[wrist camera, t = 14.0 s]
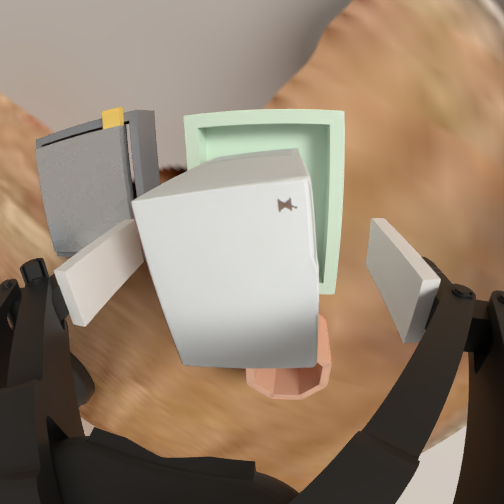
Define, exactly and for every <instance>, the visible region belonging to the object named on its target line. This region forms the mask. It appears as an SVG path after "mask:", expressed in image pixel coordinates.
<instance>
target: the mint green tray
mask: <svg viewBox="0 0 504 504" xmlns="http://www.w3.org/2000/svg"><path fill="white" fill-rule="evenodd" d="M184 131H185V146H186V159H187V171H188V170H190V169H192V168H194V167H196V166H198V165H200V164H202V163H205V162H207V161H209V160H212V159H214V158H216V157H220V156H227V155H235V154H243V153H252V152H260V151H270V150H280V149H291V148H298V149H299V151H300V155H301V157H302V159H303V161H304V163H305V166H306V168H307V170H308V173H309V175H310V178H311V183H312V193H313V203H314V216H315V230H316V246H317V259H318V266H319V294H335V286H336V277H337V268H338V258H339V248H340V236H341V223H342V207H343V187H344V147H345V127H344V111H336V110H314V109H262V110H240V111H226V112H214V113H204V114H196V115H186V116H184Z"/></svg>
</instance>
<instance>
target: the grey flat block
mask: <svg viewBox="0 0 504 504" xmlns="http://www.w3.org/2000/svg"><path fill="white" fill-rule="evenodd" d="M125 124H129V125H130V137H131V149H132V159H133V169H134V177H135V185H136V193H137V198H138V197H139V196H141V195H143V194H145V193H146V192H148V191H150V190H152V189H154V188H155V187H157V186H159V185H160V176H159V166H158V156H157V144H156V133H155V132H156V131H155V116H154V111H147V110H134V111H130V112H126V113H123V107H118V108H114V109H110V110H106V111H103V112H102V118H101V119H98V120H94V121H91V122H87V123H84V124H81V125H77V126H74V127H71V128H68V129H65V130H62V131H59V132H56V133H53V134H50V135H48V136H45V137H42V138H40V139H37V140H36V148H37V149H39V148H41V147H44V146H47V145H50V144H53V143H56V142H59V141H63V140H66V139H69V138H73V137H76V136H80V135H83V134H87V133H90V132H94V131H98V130H102V129H106V128H111V127H115V126H120V125H125ZM141 250H142V255H143V259H145V256H144V252H143V249H141ZM76 253H78V252H57V256H63V257H72V256H74V255H75V254H76ZM145 260H146V259H145Z"/></svg>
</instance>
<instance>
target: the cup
mask: <svg viewBox="0 0 504 504" xmlns="http://www.w3.org/2000/svg"><path fill="white" fill-rule="evenodd" d="M331 366H332V363H331V354H330V346H329V338H328V331H327V323H326V319H325V318H324V317H323V316H322V315H320V314H319V319H318V352H317V363H316V365H315V367H311V368H246V378H247V384H248V385H249V386H251V387H253V388H254V389H256V390H257V391H259V392H260V393H262V394H264V395H265V396H267V397H269V398H271V399H304V398H306V397H308V396H310V395H311V394H313V393H315V392H317V391H319V390H321V389H323V388H325V387H326V386H327V384H328V379H329V375H330V370H331Z"/></svg>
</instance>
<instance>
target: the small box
mask: <svg viewBox="0 0 504 504" xmlns="http://www.w3.org/2000/svg"><path fill="white" fill-rule="evenodd" d="M131 208H132V212H133V216H134V220H135V223H136V227H137V231H138V235H139V238H140V242H141V245H142V249H143V252H144V256H145V259H146V263H147V266H148V269H149V272H150V275H151V279H152V282H153V285H154V288H155V291H156V294H157V297H158V300H159V303H160V306H161V309H162V312H163V314H164V317H165V320H166V322H167V325H168V328H169V331H170V333H171V336H172V338H173V341H174V344H175V346H176V349H177V352H178V354H179V356H180V359H181V361H182V364H183V365H187V366H200V367H219V368H311V367H315V365H316V363H317V352H318V319H319V266H318V259H317V246H316V230H315V216H314V203H313V193H312V183H311V178H310V175H309V173H308V170H307V168H306V166H305V163H304V161H303V159H302V157H301V155H300V151H299V149H298V148H291V149H280V150H270V151H260V152H252V153H243V154H235V155H227V156H220V157H216V158H214V159H212V160H209V161H207V162H205V163H202V164H200V165H198V166H196V167H194V168H192V169H190V170H188V171H186V172H184V173H182V174H180V175H178V176H176V177H174V178H172V179H170V180H169V181H167V182H165V183H163V184H161V185H159V186H157V187H155V188H154V189H152V190H150V191H148V192H146V193H145V194H143V195H141V196H139V197H138V198H136V199H134V200H133V201H131Z"/></svg>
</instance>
